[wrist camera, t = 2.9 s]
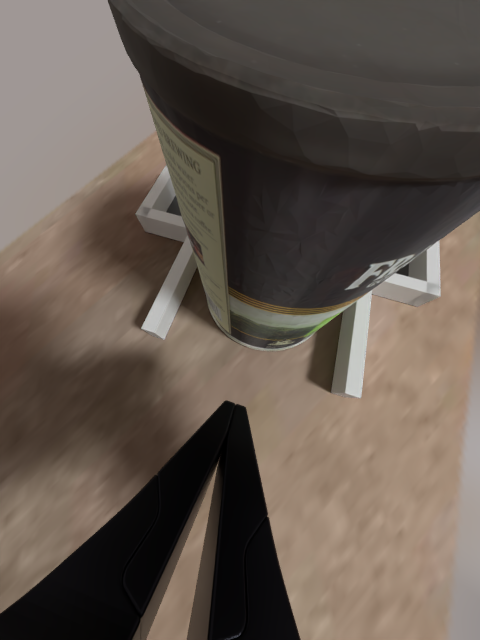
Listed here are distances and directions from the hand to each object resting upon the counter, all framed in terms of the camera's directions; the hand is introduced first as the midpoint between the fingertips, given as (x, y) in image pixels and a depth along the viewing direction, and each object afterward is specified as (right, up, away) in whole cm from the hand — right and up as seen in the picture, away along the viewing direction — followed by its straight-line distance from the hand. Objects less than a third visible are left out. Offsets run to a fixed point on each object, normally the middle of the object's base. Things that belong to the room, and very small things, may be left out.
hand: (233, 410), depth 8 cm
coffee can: (+3, +6, +9) cm, 11 cm away
